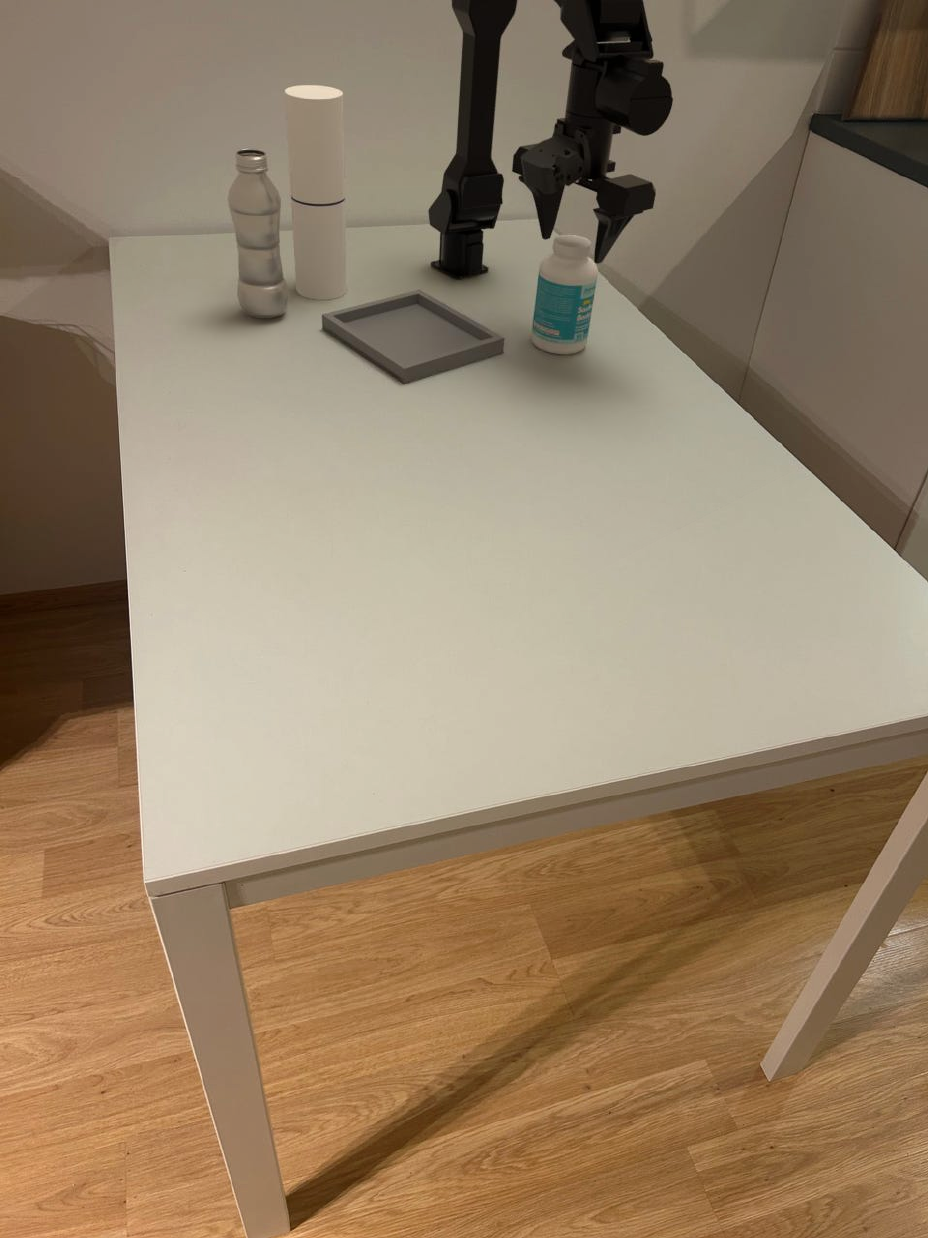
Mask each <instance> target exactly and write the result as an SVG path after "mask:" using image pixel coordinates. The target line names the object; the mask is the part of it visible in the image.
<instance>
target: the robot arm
mask: <svg viewBox="0 0 928 1238" xmlns="http://www.w3.org/2000/svg"><path fill="white" fill-rule="evenodd" d="M518 1H519V0H451V8H452V10H453V13H454V15H455V17H456V19H457V21H458V24H459V26H460V29H461V31H462V41H461V42H462V43H461V45H462V46H461V60H460V61H461V63H460V78H459V79H460V81H459V97H458V113H457V130H456V131H457V132H456V148H455V149H456V151H455V154H454V156H453V158H451V161H450V163H449V164H448V166H447V167H446V169H445V171H444V172H443V178H442V184H441V191H440V193H439V195H438V196H437V197H436V199H435V200H434V201H433V202H432V204H431V206H430V207H429V208H428V212H427V213H428V219H429V226H431V227H432V228H434V229H435V230H436V231H438V232H439V249H438V250H439V252H438V253H439V254H438V259H437V260H433V261H431V262H430V266H431V267H432V268H434V269H436V270H438V271H440V272H442V273H443V274H446V275H447V276H449V277H452V278H453V279H456V280H459V279H463V278H466V277H467V278H468V277H471V276H475V275H480V274H482V273H487V272H489V269H490V268H489V267H488V266H486V265H484V264H483V260H484V248H485V247H484V246H485V243H484V230H493V229H495V227H496V222H497V219H498V217H499V214H500V213H499V212H500V210H501V206H502V205H503V203H504V201H503V188H504V185H505V184H504V183H505V178H504V175H503V174H502V173H500V172H499V170H498V169H497V167H496V164H495V162H494V161H493V158H492V157H493V156H492V153H493V142H494V141H493V140H494V129H495V115H496V103H497V92H498V91H497V90H498V81H499V80H498V79H499V68H500V67H499V66H500V55H501V42H502V41H501V40H502V37H503V34H504V33H505V31H506V29H507V28H508V26H509V25H510V23H511V21H512V20H513V18H514V16H515V15H516V12H517V8H518ZM552 1H553V2H554V3H555V4H557V6H558V7H559V8H560V11H559V13H560V14H559V15H560V16H559V19H560V22H561V23H562V25H563V26H564V27H565V29H566V30H567V31H568V32H569V34H570V36H571V37H572V39H573V40H572V41H571V42H570V43H569V44H568V45H567V46H566V47H564V48H563V49H562V51H561V55H562V57H563V58H565V59H568V60H570V61H571V65H570V72H569V73H570V74H569V81H568V88H567V98H566V105H565V113H564V114H565V115H564V117H560V118H557V119H556V122H555V124H554V127H553V128H554V129H553V133H552V135H551V137H549V138H546V139H544V140H542V141H540V142H538V143H533V144H526V145H520V146H519V147H518V148H517V150H516V151H515V152H514V154H513V157H512V158H513V159H512V168H511V172H512V173H515V174H517V175H519V176H518V177H517V178H518V180H519V182H521V183H522V184H523V185H525V186H526V187H527V189H528V190H529V191H530V192H531V194H532V197H533V201H534V204H535V210H536V215H537V220H538V223H539V228H540V234H541V238H542V240H545V241H546V240H549V239H551V237H552V234H553V231H554V229H555V225H556V221H557V218H558V213H559V210H560V207H561V206H560V205H561V202H562V199H563V195H564V191H565V188H566V186H567V187H570V186H572V185H573V184H575V185H577V186H580V187H582V188H585V189H588V190H590V191H592V192H594V193H596V197H595V201H596V203H597V205H598V207H596V208H593V209H592V210H593V211H592V212H593V213H594V215H595V217H596V218H597V230H596V238H595V243H594V245H595V246H594V251H593V252H594V259H593V261H594V263H595V264H596V265H598V264H601V263H603V262H604V260H605V258H606V257H607V256H608V254H609V253H610V251H611V249H612V248H613V247H614V244H615V243H616V242H617V240H618V239H619V237H620V235H621V234H622V233H623V231H624V230H625V228H626V227H627V226H628V225H629V224H630V222H631V221H632V219H633V218H634V216H636V215H641V214H643V213H644V211H648V210H651V209H654V206H655V201H656V200H655V199H656V195H657V193H656V191H657V189H656V187H655V186H654V184H653V182H652V181H649V180H647V179H644V178H642V177H639V176H637V175H634V174H631V173H630V174H625V175H620V176H615V177H609V176H607V174H608V173H613V172H616V171H615V169H616V163H617V162H616V161H614V160H610V157H611V156H610V155H611V149H612V142H613V137H614V135H618V134H621V132H622V128H623V129H625V130H627V131H629V132H631V133H634V134H636V135H639V136H644V137H646V136H650V135H653V134H654V133H656V132H658V131H659V130H660V128H661V127H663V126H664V124H665V123H666V121H667V119H668V117H669V115H670V113H671V110H672V106H673V101H674V98H673V95H672V94H673V92H672V88H671V84H670V83H669V80H668V79H667V78H666V77H664V76H663V72H664V67H665V64H664V61H661V60H658V59H654V49H653V48H654V47H653V44H652V42H653V37H652V35H651V32H650V28H649V24H648V23H649V22H648V19H647V14H646V9H645V4H644V0H552Z"/></svg>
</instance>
